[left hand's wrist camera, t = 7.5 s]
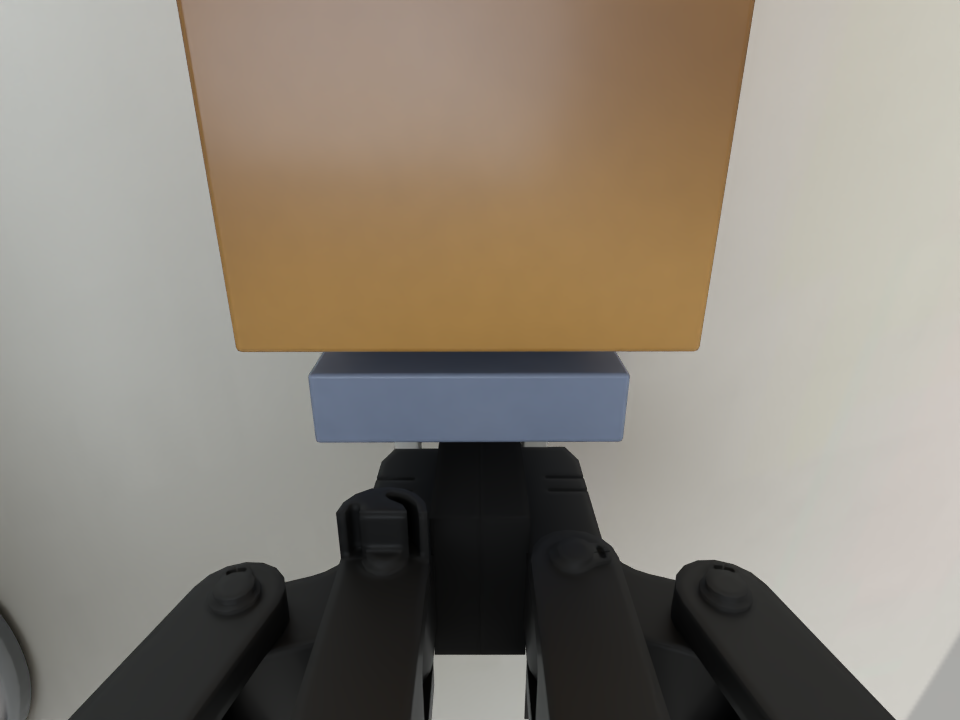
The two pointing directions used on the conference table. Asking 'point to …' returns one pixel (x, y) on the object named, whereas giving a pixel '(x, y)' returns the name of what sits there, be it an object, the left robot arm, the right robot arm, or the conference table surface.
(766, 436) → the conference table surface
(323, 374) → the drawer
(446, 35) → the tan wooden box
